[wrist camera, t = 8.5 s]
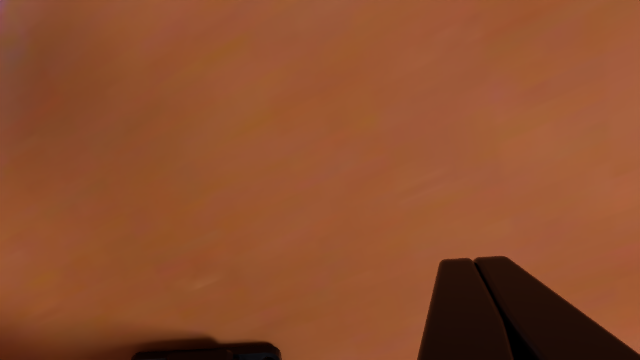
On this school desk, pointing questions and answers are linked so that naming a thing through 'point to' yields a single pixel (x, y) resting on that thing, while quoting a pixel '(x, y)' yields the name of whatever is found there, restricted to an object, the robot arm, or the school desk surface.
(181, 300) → the school desk surface
